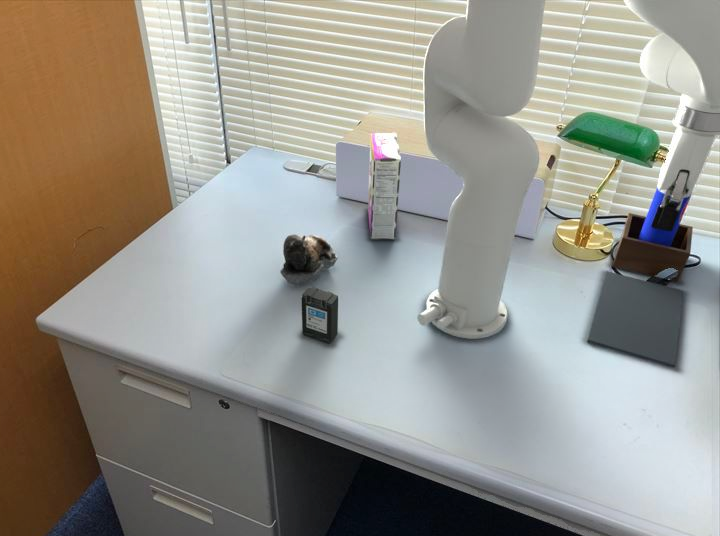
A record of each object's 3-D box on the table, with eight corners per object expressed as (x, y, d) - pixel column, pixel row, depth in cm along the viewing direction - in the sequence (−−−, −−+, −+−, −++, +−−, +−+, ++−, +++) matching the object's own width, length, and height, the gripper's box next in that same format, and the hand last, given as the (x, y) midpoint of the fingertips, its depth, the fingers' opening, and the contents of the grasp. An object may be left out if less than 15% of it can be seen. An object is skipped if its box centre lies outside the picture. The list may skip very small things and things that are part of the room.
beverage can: (665, 271, 109) (698, 193, 99) (634, 267, 109) (663, 190, 100) (659, 254, 113) (689, 178, 103) (628, 251, 113) (656, 176, 104)
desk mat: (674, 367, 90) (675, 365, 89) (586, 342, 94) (587, 339, 94) (682, 292, 104) (683, 290, 103) (605, 273, 108) (606, 271, 108)
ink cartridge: (301, 335, 95) (300, 293, 90) (308, 326, 97) (308, 285, 92) (330, 345, 93) (331, 303, 89) (337, 336, 95) (338, 294, 90)
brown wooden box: (677, 283, 106) (690, 253, 102) (612, 266, 110) (622, 237, 106) (680, 255, 112) (693, 226, 109) (619, 241, 116) (628, 212, 112)
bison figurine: (309, 253, 113) (308, 203, 107) (344, 263, 110) (345, 213, 104) (274, 288, 105) (271, 236, 99) (311, 300, 102) (310, 248, 96)
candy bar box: (366, 210, 125) (370, 131, 115) (391, 210, 125) (397, 132, 115) (368, 240, 116) (373, 158, 106) (395, 240, 116) (402, 158, 106)
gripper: (678, 94, 102) (643, 194, 113) (671, 132, 90) (633, 239, 101) (730, 102, 99) (689, 203, 111) (730, 142, 87) (684, 251, 99)
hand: (663, 219), depth 106 cm, fingers closed on beverage can, 5 cm apart
